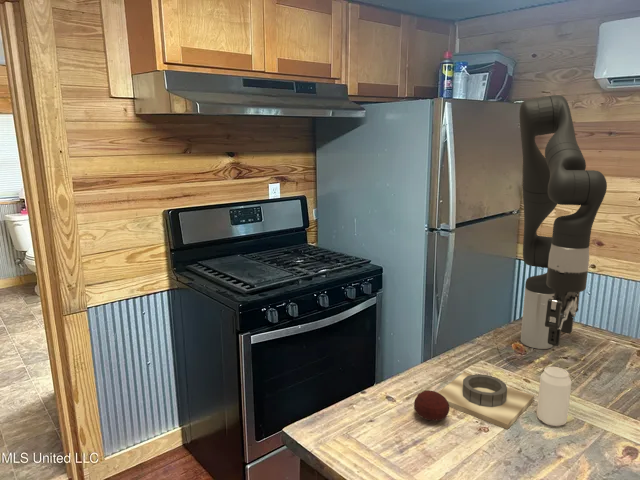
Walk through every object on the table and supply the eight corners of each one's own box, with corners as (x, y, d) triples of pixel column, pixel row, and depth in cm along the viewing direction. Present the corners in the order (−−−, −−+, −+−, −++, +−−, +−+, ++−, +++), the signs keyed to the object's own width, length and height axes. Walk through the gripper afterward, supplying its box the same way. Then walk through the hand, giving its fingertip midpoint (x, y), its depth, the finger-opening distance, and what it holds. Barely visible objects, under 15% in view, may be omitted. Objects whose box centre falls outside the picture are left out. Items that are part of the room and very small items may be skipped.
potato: (423, 430, 108) (424, 405, 106) (407, 410, 115) (408, 386, 114) (453, 425, 109) (455, 400, 108) (435, 405, 117) (436, 382, 116)
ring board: (464, 376, 131) (465, 361, 130) (533, 400, 119) (535, 384, 118) (433, 400, 119) (434, 384, 118) (507, 429, 108) (508, 412, 107)
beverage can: (540, 409, 115) (545, 362, 112) (569, 419, 111) (575, 370, 109) (532, 421, 110) (537, 372, 108) (562, 432, 107) (568, 381, 104)
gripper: (559, 256, 111) (552, 324, 114) (537, 269, 100) (530, 343, 104) (596, 262, 106) (588, 333, 109) (577, 277, 95) (568, 354, 99)
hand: (559, 338), depth 107 cm, fingers open, 8 cm apart
